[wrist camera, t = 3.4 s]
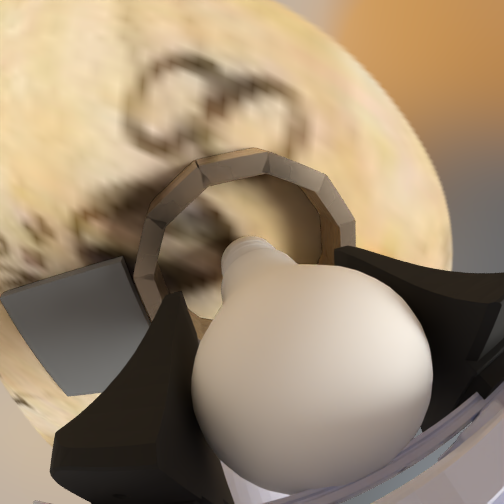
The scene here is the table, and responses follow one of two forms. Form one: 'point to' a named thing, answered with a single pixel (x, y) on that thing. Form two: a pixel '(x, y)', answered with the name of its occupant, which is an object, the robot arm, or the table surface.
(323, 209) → the collar
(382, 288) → the lightbulb
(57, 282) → the mat
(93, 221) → the table surface
